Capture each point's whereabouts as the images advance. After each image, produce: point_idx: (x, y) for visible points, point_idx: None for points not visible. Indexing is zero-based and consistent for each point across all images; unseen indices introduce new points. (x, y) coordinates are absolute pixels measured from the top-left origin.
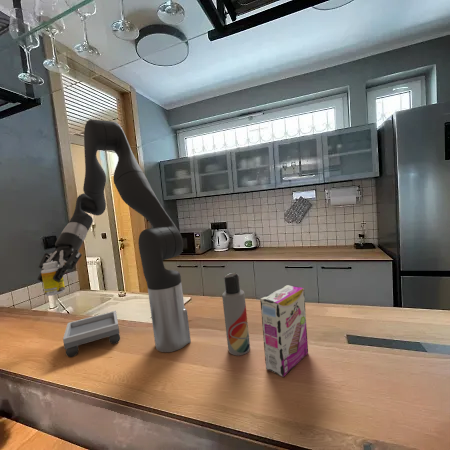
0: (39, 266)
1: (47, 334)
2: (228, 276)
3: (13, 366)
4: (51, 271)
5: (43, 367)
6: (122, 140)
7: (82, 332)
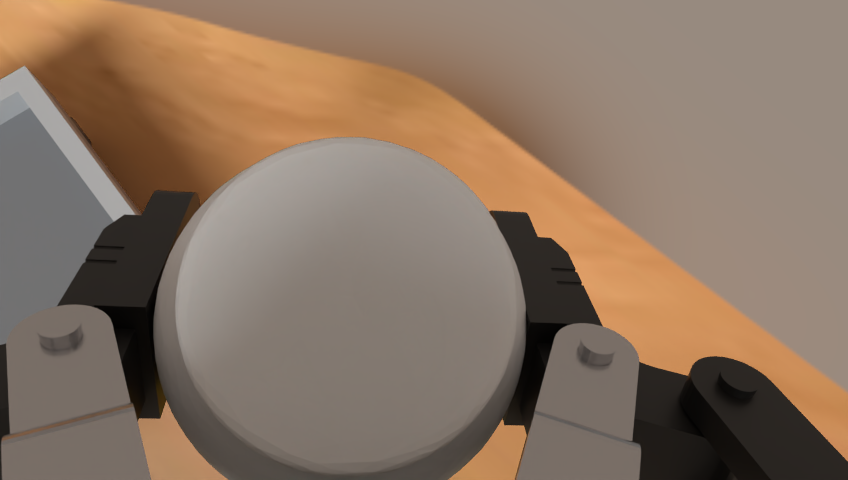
0: (747, 378)
1: None
2: None
3: (363, 70)
4: (217, 192)
5: (168, 62)
6: None
7: (5, 222)
